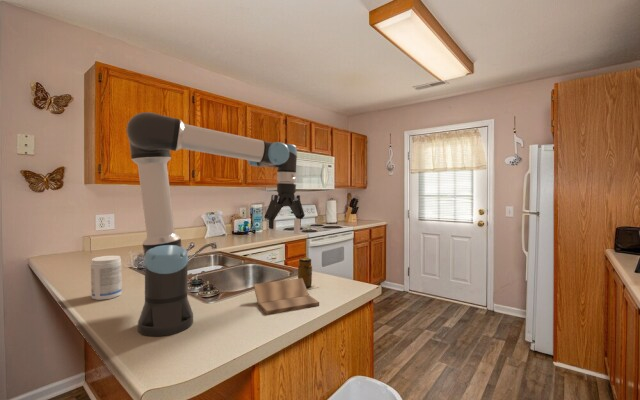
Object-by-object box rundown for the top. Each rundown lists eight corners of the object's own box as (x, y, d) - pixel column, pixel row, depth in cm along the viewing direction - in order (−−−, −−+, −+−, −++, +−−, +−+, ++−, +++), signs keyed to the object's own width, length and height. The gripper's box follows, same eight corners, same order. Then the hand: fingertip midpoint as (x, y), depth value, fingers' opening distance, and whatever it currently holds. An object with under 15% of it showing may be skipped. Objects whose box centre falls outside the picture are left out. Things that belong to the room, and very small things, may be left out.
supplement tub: (126, 292, 125) (126, 255, 124) (111, 300, 115) (111, 260, 114) (101, 292, 124) (101, 254, 124) (84, 300, 115) (84, 260, 114)
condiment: (306, 282, 142) (307, 256, 142) (318, 287, 136) (318, 260, 136) (293, 285, 138) (293, 258, 137) (304, 290, 131) (305, 262, 131)
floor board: (266, 314, 106) (266, 311, 106) (258, 305, 113) (258, 302, 113) (319, 305, 115) (319, 302, 115) (308, 297, 123) (308, 294, 123)
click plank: (258, 305, 114) (258, 303, 113) (253, 285, 119) (254, 284, 119) (308, 297, 123) (308, 295, 123) (301, 279, 129) (302, 278, 128)
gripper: (269, 181, 115) (267, 239, 116) (313, 184, 134) (312, 233, 135) (256, 181, 120) (254, 237, 121) (301, 184, 139) (299, 231, 140)
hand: (285, 235), depth 128 cm, fingers open, 13 cm apart
